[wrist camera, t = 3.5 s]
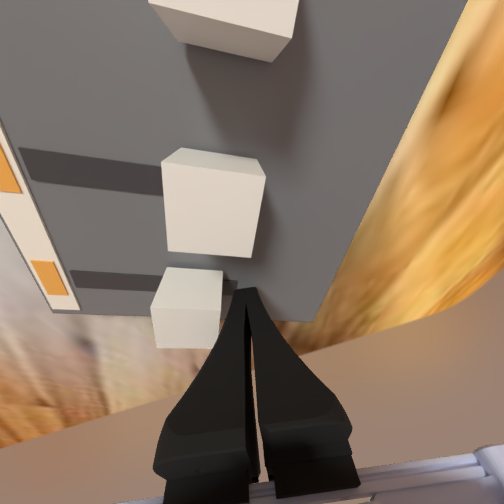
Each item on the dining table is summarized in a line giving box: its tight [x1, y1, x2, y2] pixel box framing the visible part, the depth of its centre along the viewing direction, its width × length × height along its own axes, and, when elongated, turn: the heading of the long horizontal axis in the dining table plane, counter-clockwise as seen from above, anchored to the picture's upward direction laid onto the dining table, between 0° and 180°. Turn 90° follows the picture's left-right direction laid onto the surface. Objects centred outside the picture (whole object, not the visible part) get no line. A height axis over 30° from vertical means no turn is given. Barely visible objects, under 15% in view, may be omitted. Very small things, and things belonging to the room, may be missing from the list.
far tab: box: [150, 267, 223, 349], centre depth 11 cm, size 3×3×3 cm
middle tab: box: [161, 147, 266, 258], centre depth 8 cm, size 3×3×3 cm
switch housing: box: [0, 0, 468, 322], centre depth 10 cm, size 17×18×2 cm
